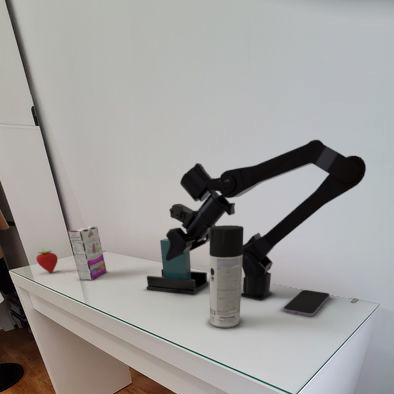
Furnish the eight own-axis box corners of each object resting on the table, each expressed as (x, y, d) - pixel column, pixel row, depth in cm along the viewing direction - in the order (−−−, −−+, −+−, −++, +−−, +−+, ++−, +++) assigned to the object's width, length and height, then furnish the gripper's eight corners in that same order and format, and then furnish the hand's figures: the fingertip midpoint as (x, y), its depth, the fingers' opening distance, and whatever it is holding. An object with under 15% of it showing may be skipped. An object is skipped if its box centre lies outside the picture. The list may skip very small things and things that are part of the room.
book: (187, 286, 86) (184, 241, 80) (164, 284, 89) (159, 240, 83) (191, 283, 88) (189, 239, 82) (169, 281, 91) (165, 238, 85)
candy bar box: (95, 272, 111) (85, 226, 103) (107, 272, 110) (98, 226, 102) (79, 280, 101) (67, 230, 93) (92, 280, 100) (80, 230, 92)
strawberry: (63, 272, 113) (56, 245, 108) (43, 276, 109) (35, 248, 104) (58, 269, 117) (51, 244, 112) (38, 273, 113) (30, 247, 108)
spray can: (221, 314, 69) (221, 224, 59) (245, 320, 65) (250, 225, 55) (204, 324, 64) (201, 228, 54) (229, 331, 60) (231, 229, 50)
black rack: (208, 284, 90) (208, 271, 88) (193, 295, 82) (192, 281, 80) (165, 280, 97) (163, 268, 95) (146, 289, 88) (145, 277, 86)
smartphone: (281, 308, 68) (302, 289, 78) (281, 312, 69) (302, 293, 79) (312, 314, 64) (330, 293, 74) (312, 318, 65) (330, 297, 75)
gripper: (201, 190, 82) (171, 231, 91) (169, 192, 67) (137, 240, 77) (227, 220, 83) (195, 257, 92) (201, 229, 68) (165, 272, 78)
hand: (174, 256), depth 85 cm, fingers open, 9 cm apart
